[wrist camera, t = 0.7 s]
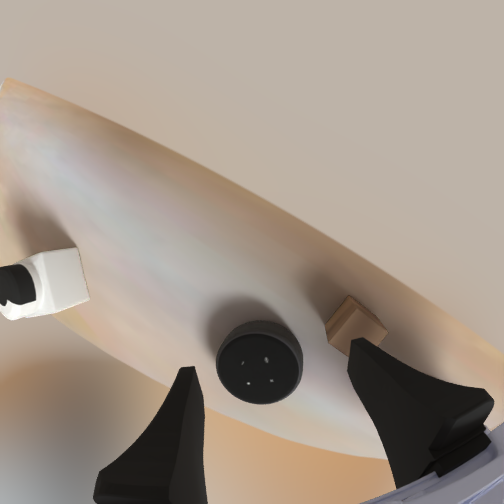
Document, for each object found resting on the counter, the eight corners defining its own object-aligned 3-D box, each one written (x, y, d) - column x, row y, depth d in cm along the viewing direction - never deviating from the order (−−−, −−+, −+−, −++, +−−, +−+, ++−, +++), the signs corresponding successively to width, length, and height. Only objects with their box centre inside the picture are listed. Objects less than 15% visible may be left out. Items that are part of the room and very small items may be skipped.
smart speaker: (210, 362, 33) (199, 378, 29) (249, 302, 32) (242, 313, 28) (274, 401, 33) (270, 420, 29) (319, 345, 31) (320, 361, 27)
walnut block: (376, 316, 30) (388, 332, 25) (352, 345, 30) (360, 365, 25) (348, 295, 30) (356, 308, 25) (324, 324, 31) (328, 342, 26)
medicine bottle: (47, 258, 36) (-17, 269, 24) (78, 246, 35) (9, 255, 23) (59, 306, 37) (-3, 328, 25) (91, 299, 35) (25, 324, 23)
